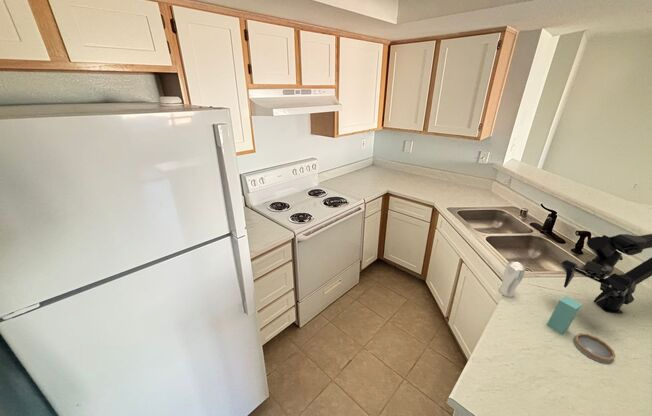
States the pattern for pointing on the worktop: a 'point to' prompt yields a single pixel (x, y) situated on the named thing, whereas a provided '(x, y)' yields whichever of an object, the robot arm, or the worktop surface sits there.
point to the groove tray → (594, 348)
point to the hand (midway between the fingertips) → (578, 294)
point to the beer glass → (511, 278)
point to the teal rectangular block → (563, 314)
